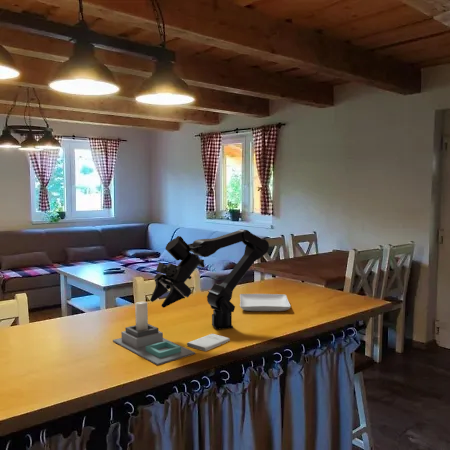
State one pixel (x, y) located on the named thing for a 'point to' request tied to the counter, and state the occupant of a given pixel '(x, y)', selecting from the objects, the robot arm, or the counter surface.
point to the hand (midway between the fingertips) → (156, 303)
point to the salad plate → (264, 302)
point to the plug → (141, 316)
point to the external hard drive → (208, 342)
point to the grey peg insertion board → (151, 345)
